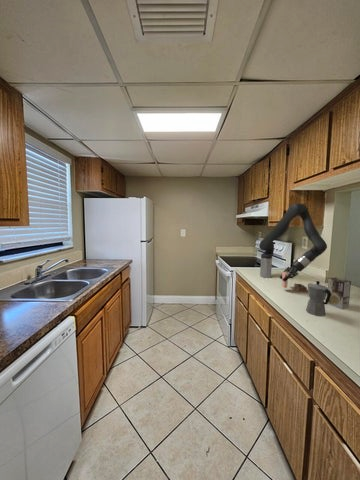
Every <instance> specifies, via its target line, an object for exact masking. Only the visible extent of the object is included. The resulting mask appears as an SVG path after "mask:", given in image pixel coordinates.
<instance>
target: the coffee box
mask: <svg viewBox="0 0 360 480" xmlns="http://www.w3.org/2000/svg"><path fill="white" fill-rule="evenodd" d="M327 283H328V286H327V288H328V290H330V292H331V297H330V299H329V301H328V304H327V305H330V306H332V307H335V308H338V309H339V310H340V309H341V310H346V309H349V308H350V299H351V298H350V297H351V286H352V285H351V284H352V281H351V280H347V279H344V278H343V279H342V278H339V277H331V278H328V282H327Z"/></svg>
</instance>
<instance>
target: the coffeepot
mask: <svg viewBox="0 0 360 480" xmlns="http://www.w3.org/2000/svg"><path fill="white" fill-rule="evenodd" d="M315 282H316V283H307V290H308V293H307V294H308V297H309V298H308V301H307V305H306V308H305V311H306V312H307V313H308V314H309V315H313V316H316V317H325V316H326V315H327V314H326V307H325V306H327V305H329V304H328V301H329V299H330V297H331V292H330V290H328V286H326V285H322V284H320V281H318V280H316V281H315Z"/></svg>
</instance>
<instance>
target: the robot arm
mask: <svg viewBox="0 0 360 480" xmlns="http://www.w3.org/2000/svg"><path fill="white" fill-rule="evenodd" d="M295 217H300V219H301V220H302V222H303V230H304V233H305V235H306V237H307V238H308V240H309V241H310V242H312V244H313V246H312V247H311V248H310V249H309V250H306V252H304V253H303V254H302V255H300V256H299V257H298V258H297V259H295V260H294V261H293V262H292V263H291V265H292V266H288V267H286V268H285V269H284V271H283V272H286V273H288V275H287V276H286V277H284V278H283V279H282V274H281V275H280V276H279V278H280V280H281V281H282V280H283V281H284V282H285V281H286V280H288V281H289V279H290V280H291V279H293V278H294V277H296V276H298V275H299V272H300V273H301V272H302V271H304V269H307V268H306V267H308V266H310V264H311V263H312V262H314V260H315V259H317V258H318V257H319V256H321V255H322V254H324V253H325V252H326V250H327V248H328V244H327V243H326V241H325V240H324V238H323V237H322V236H321V235H320V233H319V231H318V230H317V228H316V226H315V224H314V222H313V219H312V218H311V217H312V216H311V215H310V212H309V209H308V207H307V205H306V204H304V203H301V202H300V203H297V202H296V203H295V202H294V203H292V204H291V205H289V207H288V208H287V210H286V212H285V213H284V214H283V216H282V217H281V219H279V220H278V222H277V223H276V224H275V226H274V227H273V228H272V229H271V231H269V233H268V234H267V235H266V236H265V237H264V238H263V239H262V240H261V241H260V242H259V249H260V250H261V251H264V252H263V253H261V254H260V270H259V271H260V273H259V277H262V278H266V279H267V278H268V279H269V278H272V264H273V256H274V251H275V243H274V241H275V240H277V239H279V238H281V237H282V236H283V235H285V233H287V231H288V230H289V227H290V224H291V222H292V221H293V219H295Z"/></svg>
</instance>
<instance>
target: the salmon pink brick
mask: <svg viewBox="0 0 360 480" xmlns="http://www.w3.org/2000/svg"><path fill="white" fill-rule="evenodd" d="M281 275H282V279H283V278H284V277H286V276H287V275H288V273H286V271H285V272H284V271H282V274H281ZM282 279H281V286H282V287H283V288H284V289H287V288H288V281H289V279H288V280H286V281H285V282H284V281H283V280H282Z"/></svg>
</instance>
